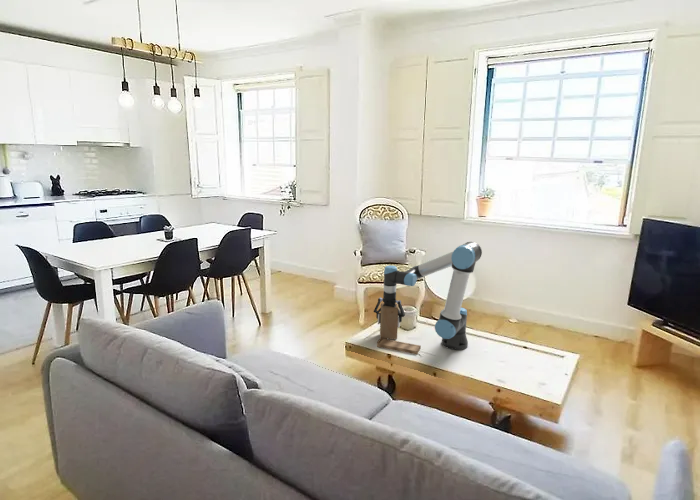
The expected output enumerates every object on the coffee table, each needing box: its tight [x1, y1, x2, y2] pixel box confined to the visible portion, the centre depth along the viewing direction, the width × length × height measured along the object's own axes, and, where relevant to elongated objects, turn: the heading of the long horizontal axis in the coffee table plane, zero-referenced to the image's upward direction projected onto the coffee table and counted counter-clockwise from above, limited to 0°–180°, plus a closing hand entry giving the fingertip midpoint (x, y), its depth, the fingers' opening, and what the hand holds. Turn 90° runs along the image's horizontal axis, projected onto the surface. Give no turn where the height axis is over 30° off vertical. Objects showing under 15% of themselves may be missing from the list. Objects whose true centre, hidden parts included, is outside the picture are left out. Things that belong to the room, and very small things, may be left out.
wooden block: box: [379, 302, 399, 340], centre depth 268 cm, size 10×10×20 cm
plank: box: [376, 337, 422, 355], centre depth 257 cm, size 24×8×3 cm, turn 67°
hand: (388, 325), depth 269 cm, fingers closed on wooden block, 12 cm apart
